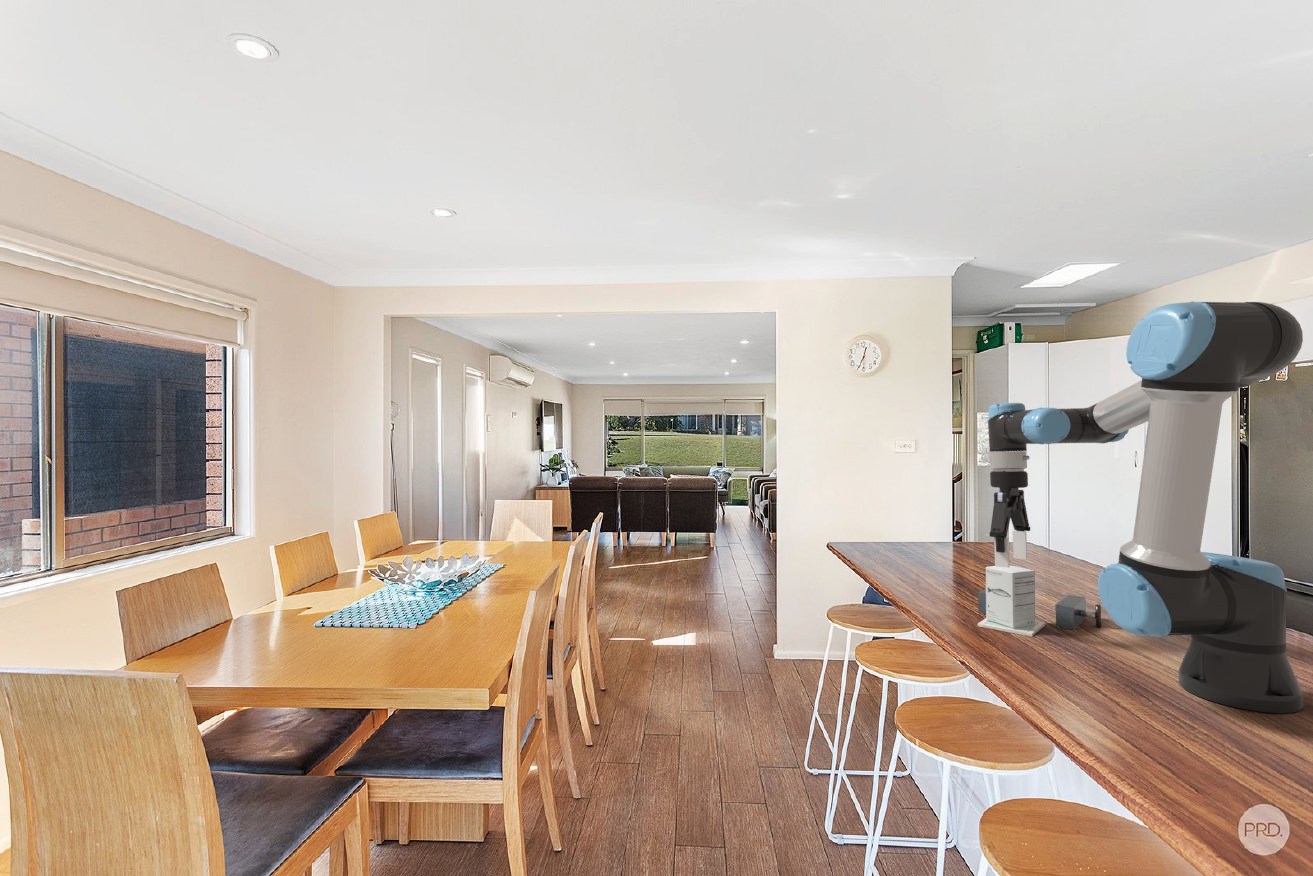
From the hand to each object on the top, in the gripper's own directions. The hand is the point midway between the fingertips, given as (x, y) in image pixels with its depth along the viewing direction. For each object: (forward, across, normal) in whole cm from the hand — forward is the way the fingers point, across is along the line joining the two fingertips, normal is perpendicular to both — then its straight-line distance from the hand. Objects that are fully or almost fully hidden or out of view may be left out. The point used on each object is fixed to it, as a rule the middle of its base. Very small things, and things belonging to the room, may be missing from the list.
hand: (1011, 562), depth 141 cm
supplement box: (+14, 0, +1) cm, 14 cm away
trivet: (+15, 0, +1) cm, 15 cm away
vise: (+14, +12, -2) cm, 19 cm away
